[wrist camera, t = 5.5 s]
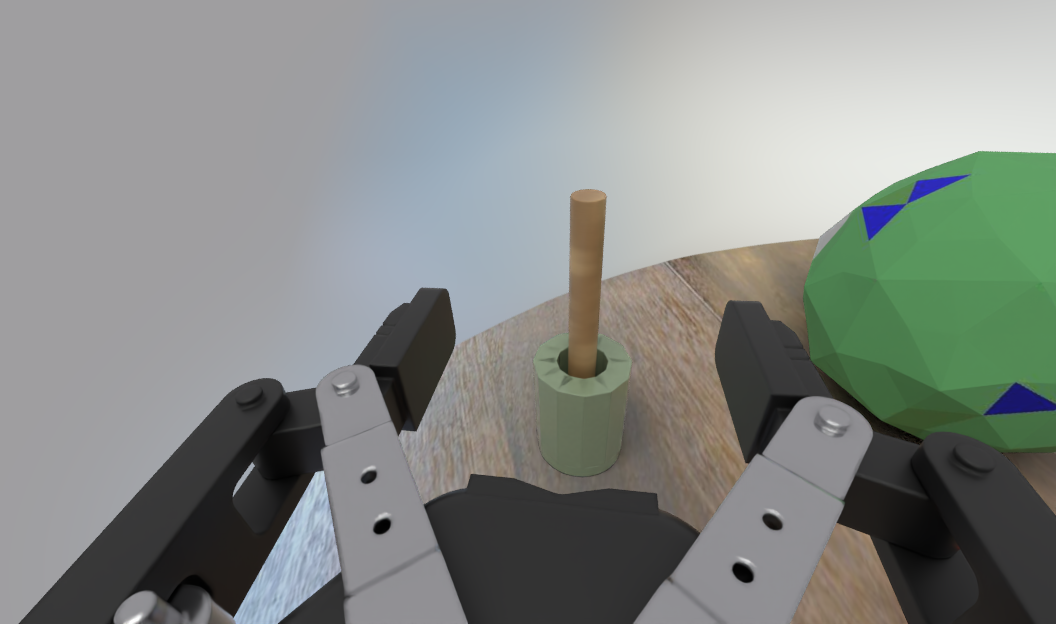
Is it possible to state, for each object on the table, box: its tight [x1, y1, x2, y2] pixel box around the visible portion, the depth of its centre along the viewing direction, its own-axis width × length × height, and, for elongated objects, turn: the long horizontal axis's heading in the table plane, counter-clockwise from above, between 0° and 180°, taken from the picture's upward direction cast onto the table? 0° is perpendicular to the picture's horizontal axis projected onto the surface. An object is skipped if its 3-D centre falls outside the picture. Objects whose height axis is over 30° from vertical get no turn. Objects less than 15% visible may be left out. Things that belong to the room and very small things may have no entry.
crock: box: [533, 333, 632, 477], centre depth 30 cm, size 6×6×8 cm
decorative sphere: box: [803, 151, 1056, 453], centre depth 29 cm, size 19×20×20 cm
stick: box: [568, 189, 606, 379], centre depth 27 cm, size 2×2×18 cm
